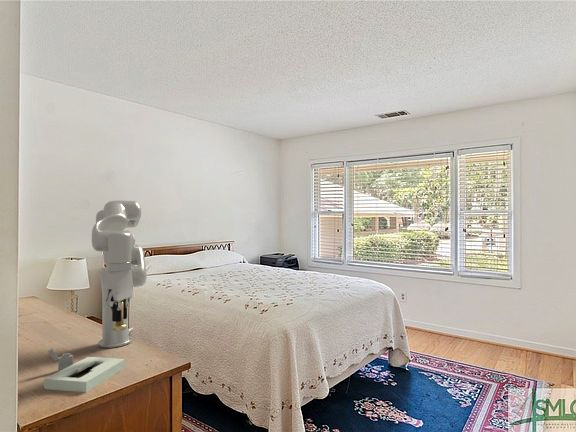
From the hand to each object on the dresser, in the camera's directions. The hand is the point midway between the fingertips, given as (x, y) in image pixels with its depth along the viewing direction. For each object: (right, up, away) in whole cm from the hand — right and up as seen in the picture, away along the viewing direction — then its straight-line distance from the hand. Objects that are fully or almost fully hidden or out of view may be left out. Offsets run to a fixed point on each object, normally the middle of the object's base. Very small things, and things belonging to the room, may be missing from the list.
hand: (119, 319), depth 127 cm
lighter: (-17, -15, -6) cm, 24 cm away
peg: (0, -3, 0) cm, 3 cm away
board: (-5, -15, -12) cm, 20 cm away
